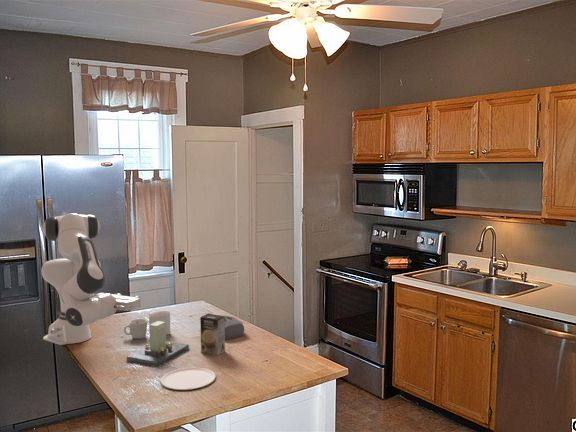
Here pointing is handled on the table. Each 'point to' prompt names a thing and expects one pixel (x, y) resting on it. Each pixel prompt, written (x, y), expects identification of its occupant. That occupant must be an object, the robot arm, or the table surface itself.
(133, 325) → the cup
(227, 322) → the soft grey pack
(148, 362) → the chassis
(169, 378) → the plate
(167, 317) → the photo printer
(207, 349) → the coffee box
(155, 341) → the block
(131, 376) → the table surface
